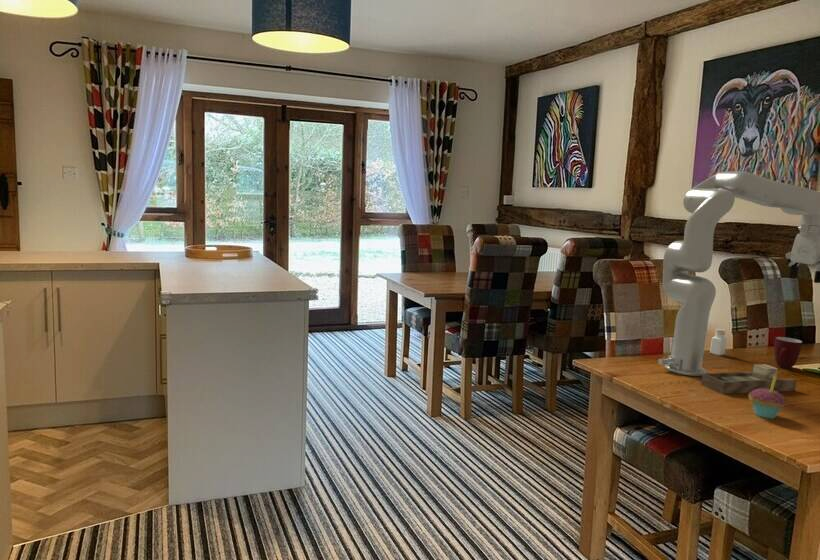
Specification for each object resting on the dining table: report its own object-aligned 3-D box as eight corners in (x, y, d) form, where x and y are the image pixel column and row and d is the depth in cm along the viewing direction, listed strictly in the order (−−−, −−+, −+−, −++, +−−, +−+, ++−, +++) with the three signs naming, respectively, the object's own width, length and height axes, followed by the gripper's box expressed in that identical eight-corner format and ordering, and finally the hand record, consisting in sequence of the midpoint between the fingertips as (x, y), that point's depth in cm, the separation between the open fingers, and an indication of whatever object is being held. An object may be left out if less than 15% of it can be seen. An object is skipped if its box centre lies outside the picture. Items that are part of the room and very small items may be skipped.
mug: (796, 373, 202) (800, 345, 201) (768, 368, 207) (773, 340, 206) (798, 367, 211) (803, 340, 209) (772, 362, 215) (776, 335, 214)
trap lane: (722, 393, 175) (724, 382, 174) (700, 384, 183) (702, 373, 183) (794, 390, 183) (796, 379, 182) (771, 381, 191) (772, 371, 190)
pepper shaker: (719, 356, 220) (722, 331, 218) (709, 353, 223) (712, 328, 222) (725, 355, 222) (728, 330, 221) (715, 352, 225) (718, 327, 224)
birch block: (764, 381, 181) (766, 369, 181) (752, 377, 186) (754, 364, 185) (775, 381, 183) (777, 368, 182) (763, 376, 187) (765, 364, 186)
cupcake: (790, 421, 155) (797, 377, 153) (759, 420, 154) (766, 376, 152) (768, 409, 163) (775, 367, 162) (739, 408, 163) (745, 366, 161)
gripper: (782, 228, 210) (775, 276, 212) (828, 232, 193) (820, 284, 196) (799, 229, 212) (791, 276, 214) (846, 233, 195) (837, 284, 198)
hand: (805, 280), depth 205 cm, fingers open, 9 cm apart
